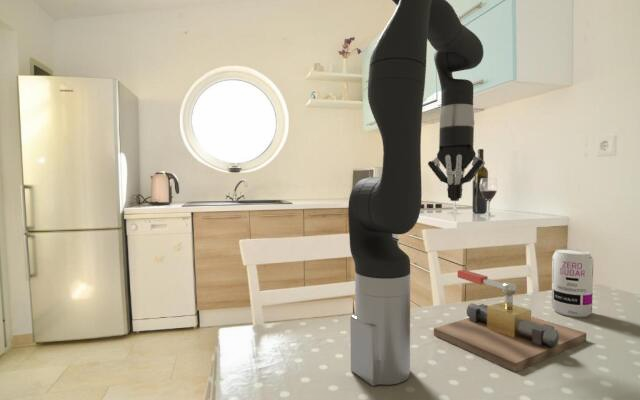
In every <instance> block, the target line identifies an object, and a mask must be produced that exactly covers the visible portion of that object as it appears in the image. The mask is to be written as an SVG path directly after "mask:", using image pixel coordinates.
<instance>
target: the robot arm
mask: <svg viewBox="0 0 640 400" xmlns="http://www.w3.org/2000/svg"><path fill="white" fill-rule="evenodd" d="M391 1H392V2H393V3H394V4H395V5H396V8H395V10H394V12H393V14H392V16H391V18H390V19H389V21H388V22H387V24H386V26H385V27H384V29H383V30H382V32H381V34H380V36H379V38H378V39H377V41H376V44H375V46H374V47H373V50H372V53H371V55H370V58H369V59H370V60H369V67H368V68H369V69H368V79H367V100H368V104H369V105H368V106H369V108H370V110H371V112H372V115H373V118H374V121H375V123H376V126H377V127H378V130H379V133H380V136H381V139H382V151H383V155H382V157H383V158H382V171H381V175H380V176H373V177H371V176H370V177H365V178H362V179H360V180H358V181H357V182H356V183H355V185H354V186H353V187H352V189H351V191H350V195H349V198H348V207H347V209H348V212H347V213H348V214H347V216H348V233H349V234H348V235H349V237H348V238H349V249H350V254H351V257H352V259H353V262H354V271H355V272H354V273H355V274H354V276H355V278H354V279H355V280H354V282H355V283H354V285H355V286H354V287H355V288H354V289H355V290H354V292H355V293H354V295H355V297H354V299H355V300H354V301H355V303H354V305H355V306H354V307H355V309H354V315H351V316H350V322H349V323H350V371H351V372H353V373H354V374H355V375H357V376H358V377H359V378H361V379H362V380H364V381H365V382H366V383H368V384H369V385H371V386H373V387H374V386H378V385H397V384H401V383H403V382H405V381H407V379H409V378H410V375H411V259H410V256H409V255H408V254H407V253H406V252H405V251H404V250H402V249H401V248H400V247H399V246H398V245H397V243H396V242H395V238H394V236H393V235H405V234H407V233H409V232H410V231H411V230H412V229H413V228H414V227H415V226H416V224H417V222H418V220H419V217H420V214H421V213H420V212H421V208H422V195H423V194H422V193H423V192H422V191H423V190H422V189H423V188H422V160H421V159H422V158H421V154H422V153H421V148H422V147H421V145H422V144H421V143H422V122H423V121H422V119H423V105H424V95H425V89H426V88H425V87H426V75H427V74H426V73H427V57H428V56H427V53H428V51H427V49H428V42H429V43H430V45H431V47H432V48H433V49H434V50H435V51H434V54H433V55H434V56H433V61H434V64H435V69H436V71H437V75H438V78H439V79H438V80H439V83H440V91H441V92H440V93H441V96H440V97H441V99H440V101H441V102H440V103H441V104H440V106H441V107H440V114H439V134H438V135H439V137H438V141H439V142H438V143H439V144H438V145H439V146H438V151H437V153H436V157H435V158H434V159H433V160H430V161H428V162H427V166H428V167H429V168H430V169H431V171H432V172H433V173H434V175H435V176H436V177H437V179H439V181H440V182H442V183H444V184H447V198H448V199H450V201H451V202H459V200H460V199H462V198H463V197H462V196H463V185H464V184H466V183H469V182H471V181H472V179H474V177H475V176H476V175H477V174H478V173H479V171H480V170H481V169H482V168H483V167H484V166H485V163H486V162H485V160H483V159H480V158H479V157H478V156H476V152H475V151H476V150H474V131H475V130H474V129H475V113H474V83H473V82H472V81H471V80H470V79H465V78H454V77H453V73H455V72H461V71H468V70H472V69H475V68H476V67H477V66H479V65H480V64H481V63H482V60H483V57H484V45H483V43H482V41H481V40H480V38H479V37H478V36H477V35H476V33H475V32H473V31H471V30H470V29H469V28H468V27H466V25H464V24H462V23H461V20H460V18H459V17H458V16H459V15H458V13H457V12H456V11H455V9H454V7H453V6H452V5H451V3H449V1H447V0H391ZM471 163H472V164H471ZM441 164H442V166H443V168H444V169H445V170H446V174H445V173H444V171H443V170H442V169H441V168H440V167H441ZM470 164H471V165H472V167H471V168H470V169H469V171H468V172H466V174H465V171H466V169H467V168H468V167H469V166H470Z"/></svg>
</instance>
